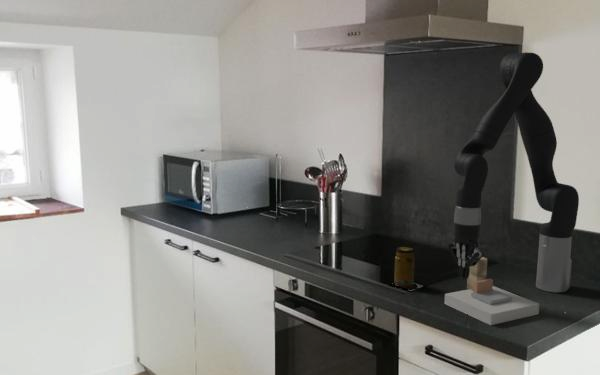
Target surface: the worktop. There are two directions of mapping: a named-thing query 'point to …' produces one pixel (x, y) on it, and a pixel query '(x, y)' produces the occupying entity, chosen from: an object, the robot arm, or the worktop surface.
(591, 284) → the worktop surface
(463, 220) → the robot arm
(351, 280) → the worktop surface
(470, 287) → the peg
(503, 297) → the brown block on tile
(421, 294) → the worktop surface
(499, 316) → the socket plate
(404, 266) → the condiment
